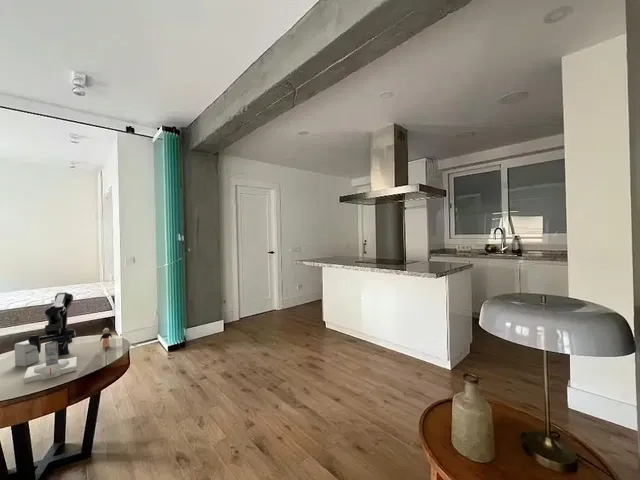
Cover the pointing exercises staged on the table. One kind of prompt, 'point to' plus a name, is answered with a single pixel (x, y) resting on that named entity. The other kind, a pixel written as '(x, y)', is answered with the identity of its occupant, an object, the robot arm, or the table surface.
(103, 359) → the table surface
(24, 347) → the supplement box
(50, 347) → the steel spacer stack
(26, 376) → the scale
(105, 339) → the grandmother figurine
